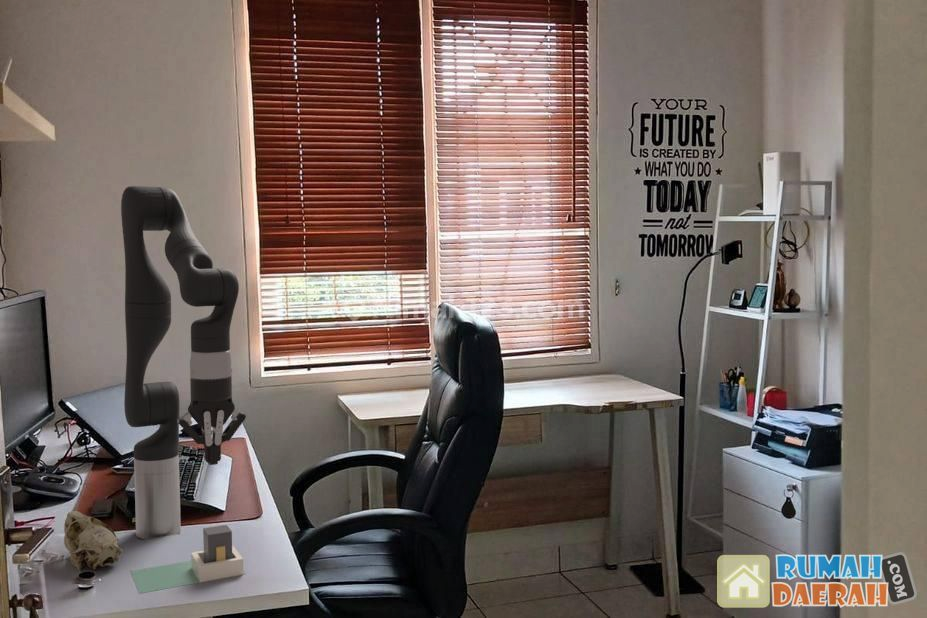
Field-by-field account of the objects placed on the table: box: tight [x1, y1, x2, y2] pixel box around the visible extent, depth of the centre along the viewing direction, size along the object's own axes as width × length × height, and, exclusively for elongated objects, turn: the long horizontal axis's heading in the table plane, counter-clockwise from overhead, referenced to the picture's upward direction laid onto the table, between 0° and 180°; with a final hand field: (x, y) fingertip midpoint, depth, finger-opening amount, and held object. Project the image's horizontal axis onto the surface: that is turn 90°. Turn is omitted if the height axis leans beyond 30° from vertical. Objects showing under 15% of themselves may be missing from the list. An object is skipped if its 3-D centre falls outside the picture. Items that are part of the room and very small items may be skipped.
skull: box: [63, 510, 124, 572], centre depth 166 cm, size 10×16×10 cm, turn 50°
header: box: [190, 545, 244, 583], centre depth 161 cm, size 8×8×3 cm
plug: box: [202, 524, 233, 564], centre depth 160 cm, size 5×4×8 cm
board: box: [130, 560, 247, 595], centre depth 160 cm, size 12×19×1 cm, turn 118°
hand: (212, 463), depth 161 cm, fingers closed
